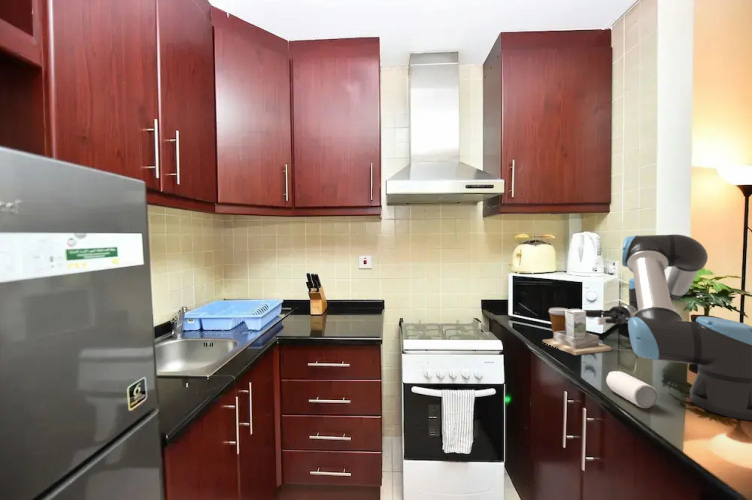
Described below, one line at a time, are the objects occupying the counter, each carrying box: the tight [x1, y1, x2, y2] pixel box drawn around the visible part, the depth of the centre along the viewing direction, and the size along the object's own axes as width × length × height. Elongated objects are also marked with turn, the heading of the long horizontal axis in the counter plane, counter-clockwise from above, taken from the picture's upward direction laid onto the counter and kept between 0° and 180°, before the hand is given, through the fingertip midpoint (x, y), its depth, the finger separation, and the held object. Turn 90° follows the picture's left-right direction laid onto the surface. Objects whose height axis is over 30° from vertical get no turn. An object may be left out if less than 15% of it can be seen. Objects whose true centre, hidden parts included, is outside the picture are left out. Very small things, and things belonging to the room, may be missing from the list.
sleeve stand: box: [542, 331, 612, 356], centre depth 145 cm, size 18×18×6 cm
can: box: [605, 370, 658, 409], centre depth 97 cm, size 6×6×12 cm
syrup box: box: [565, 308, 587, 338], centre depth 145 cm, size 6×6×14 cm
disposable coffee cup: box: [548, 307, 567, 333], centre depth 167 cm, size 10×10×12 cm
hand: (584, 318), depth 147 cm, fingers open, 13 cm apart
